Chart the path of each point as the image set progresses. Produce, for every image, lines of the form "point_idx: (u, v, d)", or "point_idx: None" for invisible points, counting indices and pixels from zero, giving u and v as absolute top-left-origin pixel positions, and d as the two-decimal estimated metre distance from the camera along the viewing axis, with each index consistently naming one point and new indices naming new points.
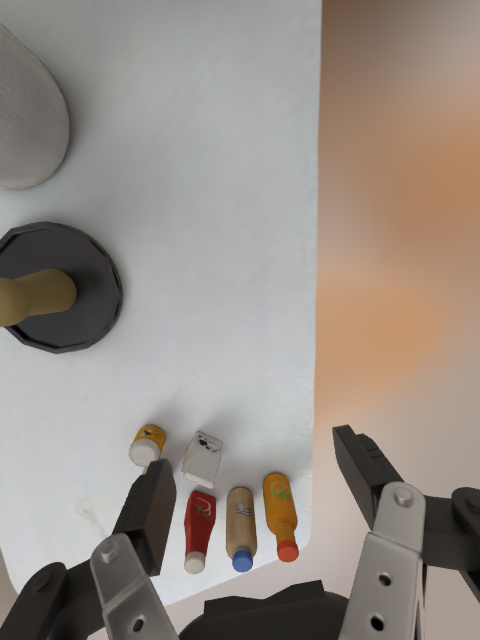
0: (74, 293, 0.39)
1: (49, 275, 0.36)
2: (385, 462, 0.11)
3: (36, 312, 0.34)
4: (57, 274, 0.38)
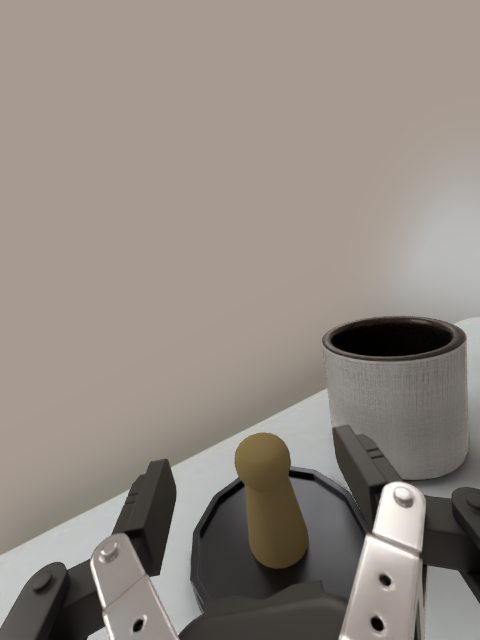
0: (291, 559, 0.26)
1: (300, 512, 0.28)
2: (385, 462, 0.11)
3: (258, 505, 0.26)
4: (304, 525, 0.28)
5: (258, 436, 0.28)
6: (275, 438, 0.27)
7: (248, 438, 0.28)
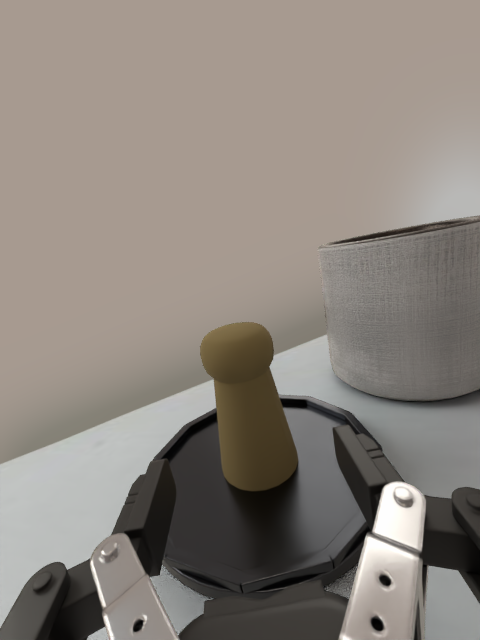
0: (274, 479, 0.20)
1: (288, 425, 0.22)
2: (385, 462, 0.11)
3: (230, 405, 0.19)
4: (292, 442, 0.22)
5: None
6: (254, 323, 0.21)
7: (220, 327, 0.21)
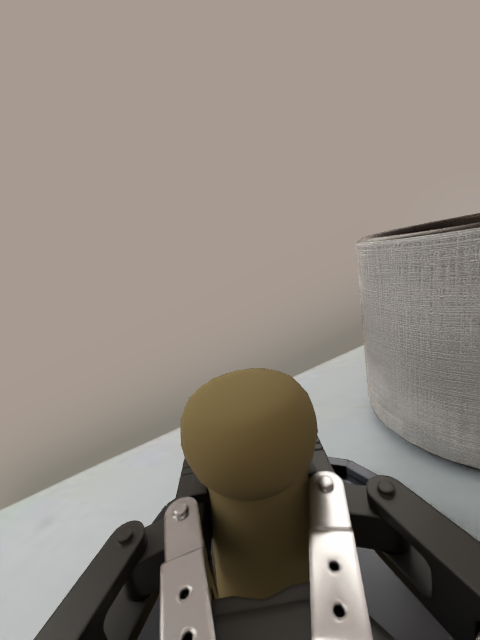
0: None
1: None
2: (322, 454, 0.12)
3: (235, 538, 0.10)
4: None
5: (240, 372, 0.12)
6: (280, 374, 0.11)
7: (217, 378, 0.12)
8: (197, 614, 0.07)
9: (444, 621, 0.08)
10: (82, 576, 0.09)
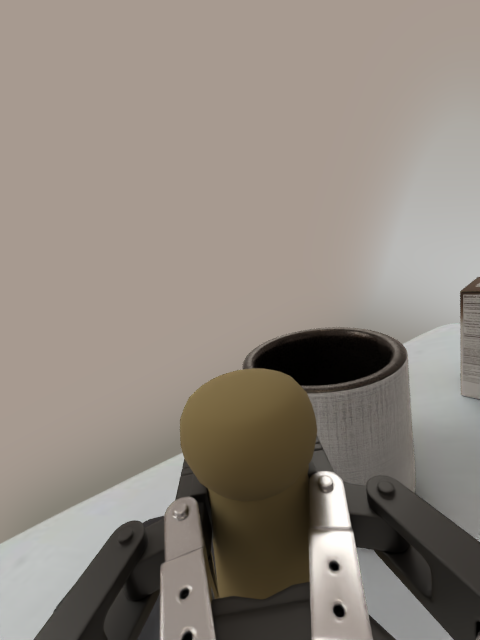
0: None
1: None
2: (322, 454, 0.12)
3: (235, 538, 0.10)
4: None
5: (239, 372, 0.12)
6: (280, 374, 0.11)
7: (217, 378, 0.12)
8: (197, 614, 0.07)
9: (444, 621, 0.08)
10: (82, 576, 0.09)
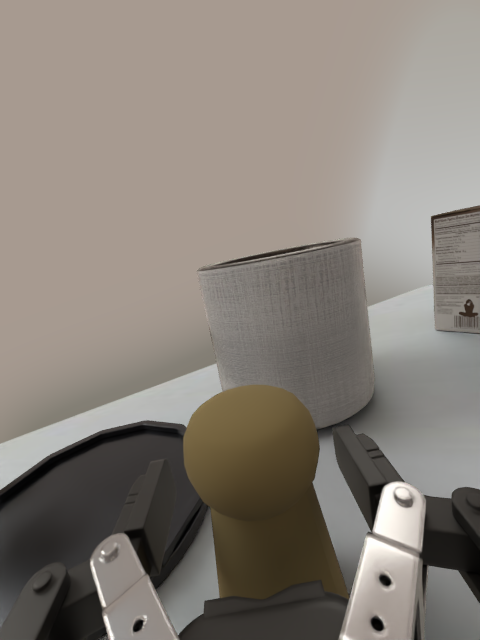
0: None
1: (337, 563, 0.12)
2: (385, 462, 0.11)
3: (238, 557, 0.10)
4: (345, 592, 0.13)
5: (242, 389, 0.12)
6: (282, 391, 0.11)
7: (219, 394, 0.12)
8: (158, 636, 0.06)
9: None
10: None
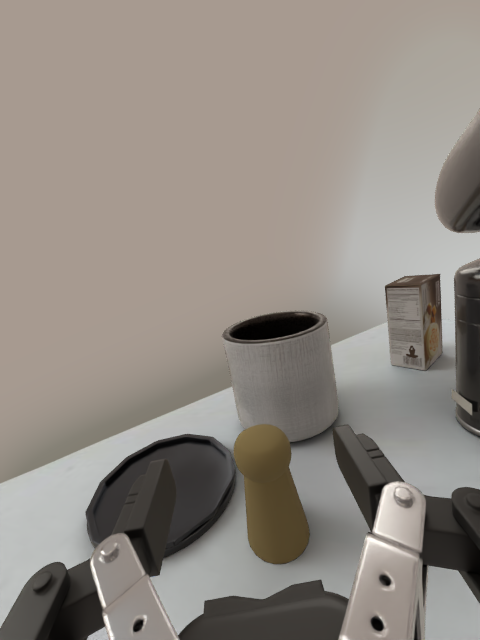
0: (291, 555, 0.25)
1: (301, 506, 0.27)
2: (385, 462, 0.11)
3: (258, 498, 0.25)
4: (305, 520, 0.27)
5: (258, 427, 0.27)
6: (276, 428, 0.26)
7: (248, 429, 0.27)
8: (158, 636, 0.06)
9: None
10: None
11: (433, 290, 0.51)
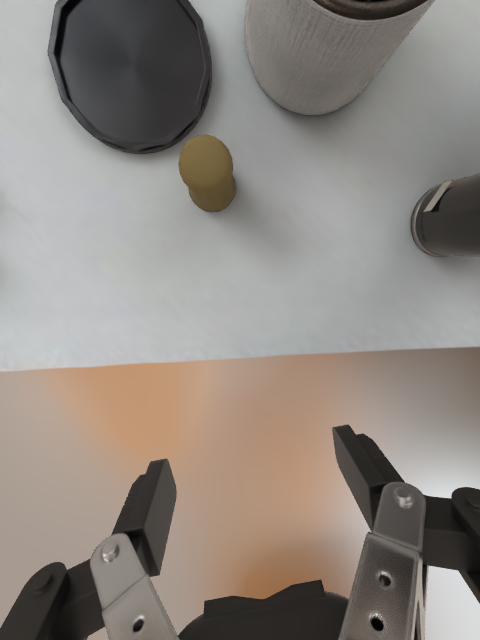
0: (209, 210, 0.37)
1: (230, 194, 0.35)
2: (385, 462, 0.11)
3: None
4: (230, 198, 0.36)
5: (209, 148, 0.26)
6: (223, 162, 0.26)
7: (200, 142, 0.26)
8: (158, 636, 0.06)
9: None
10: None
11: None
